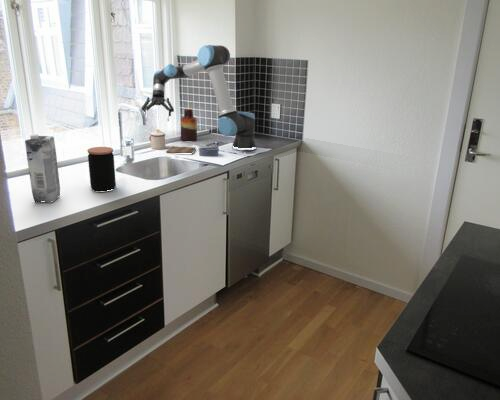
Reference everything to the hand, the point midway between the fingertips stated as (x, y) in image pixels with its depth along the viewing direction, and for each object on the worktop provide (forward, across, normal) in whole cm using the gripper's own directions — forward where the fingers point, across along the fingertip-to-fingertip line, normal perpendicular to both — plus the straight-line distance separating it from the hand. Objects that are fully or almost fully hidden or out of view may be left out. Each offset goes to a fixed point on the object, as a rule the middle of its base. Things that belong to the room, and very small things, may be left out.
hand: (157, 119), depth 276 cm
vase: (+2, -19, -20) cm, 28 cm away
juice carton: (+84, +36, +63) cm, 111 cm away
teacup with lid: (+19, 0, -3) cm, 19 cm away
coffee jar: (+75, +16, +53) cm, 93 cm away
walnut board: (+25, -16, +3) cm, 29 cm away
